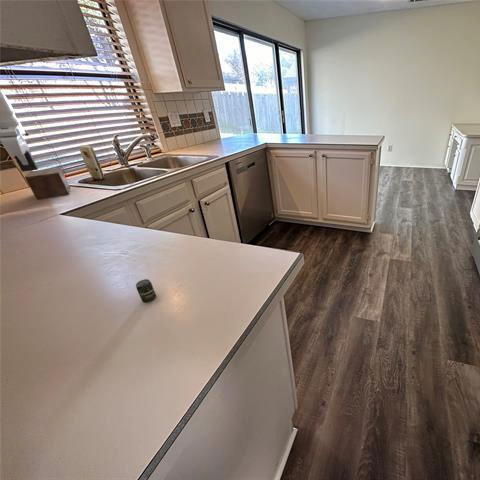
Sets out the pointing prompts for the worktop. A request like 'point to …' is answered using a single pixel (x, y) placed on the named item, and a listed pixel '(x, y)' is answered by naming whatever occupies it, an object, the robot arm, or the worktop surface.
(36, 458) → the worktop surface
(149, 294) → the beer can
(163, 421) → the worktop surface
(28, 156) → the holder
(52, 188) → the brown wooden stand
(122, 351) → the worktop surface
